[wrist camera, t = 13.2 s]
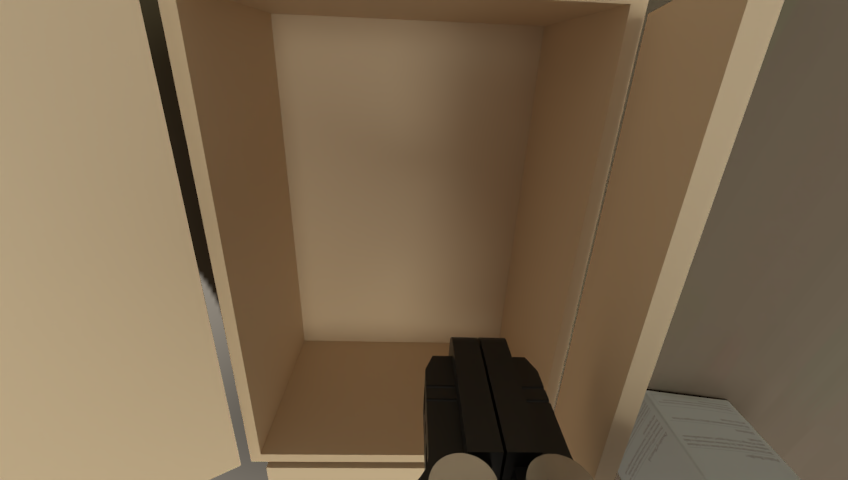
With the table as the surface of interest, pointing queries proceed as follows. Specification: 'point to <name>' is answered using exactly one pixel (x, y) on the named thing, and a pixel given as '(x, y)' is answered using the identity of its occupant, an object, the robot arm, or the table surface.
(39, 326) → the flap
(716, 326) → the table surface
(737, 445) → the supplement box
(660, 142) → the flap
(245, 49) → the carton
